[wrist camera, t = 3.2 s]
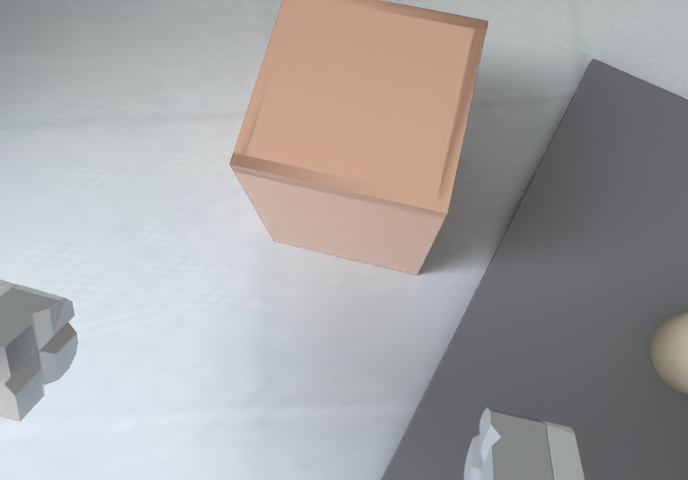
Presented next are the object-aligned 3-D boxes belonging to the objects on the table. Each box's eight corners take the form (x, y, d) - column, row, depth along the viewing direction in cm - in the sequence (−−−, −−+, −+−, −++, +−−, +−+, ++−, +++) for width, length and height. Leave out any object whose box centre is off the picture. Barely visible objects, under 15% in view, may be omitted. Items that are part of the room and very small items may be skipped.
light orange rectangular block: (273, 241, 23) (229, 164, 15) (311, 112, 24) (288, -18, 17) (417, 275, 22) (447, 213, 15) (446, 141, 24) (488, 20, 16)
